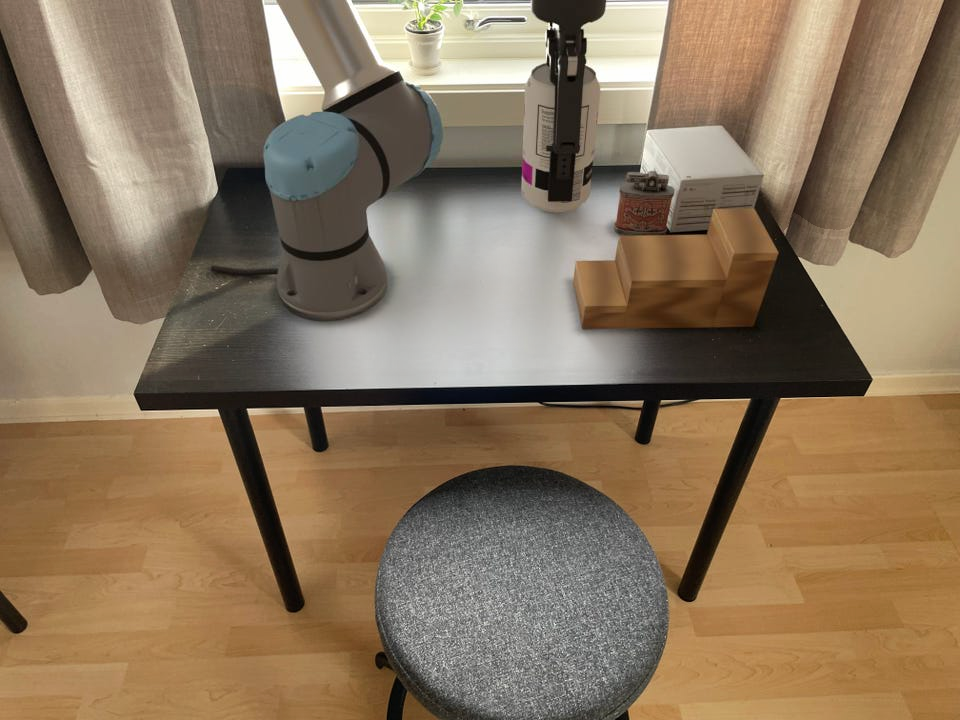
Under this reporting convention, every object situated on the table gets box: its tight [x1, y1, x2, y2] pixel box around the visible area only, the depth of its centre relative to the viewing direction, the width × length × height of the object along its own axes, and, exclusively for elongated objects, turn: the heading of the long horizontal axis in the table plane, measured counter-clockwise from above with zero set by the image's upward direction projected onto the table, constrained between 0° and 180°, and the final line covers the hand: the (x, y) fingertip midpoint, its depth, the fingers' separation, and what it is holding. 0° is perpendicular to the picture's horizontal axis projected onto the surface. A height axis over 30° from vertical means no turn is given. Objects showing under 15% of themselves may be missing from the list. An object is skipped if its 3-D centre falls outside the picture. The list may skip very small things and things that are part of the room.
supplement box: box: [639, 124, 765, 233], centre depth 118 cm, size 17×13×9 cm
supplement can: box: [520, 62, 601, 213], centre depth 84 cm, size 8×8×15 cm
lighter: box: [613, 171, 675, 236], centre depth 111 cm, size 8×3×10 cm, turn 84°
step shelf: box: [572, 208, 779, 330], centre depth 98 cm, size 23×10×12 cm, turn 92°
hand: (556, 180), depth 88 cm, fingers closed on supplement can, 8 cm apart
